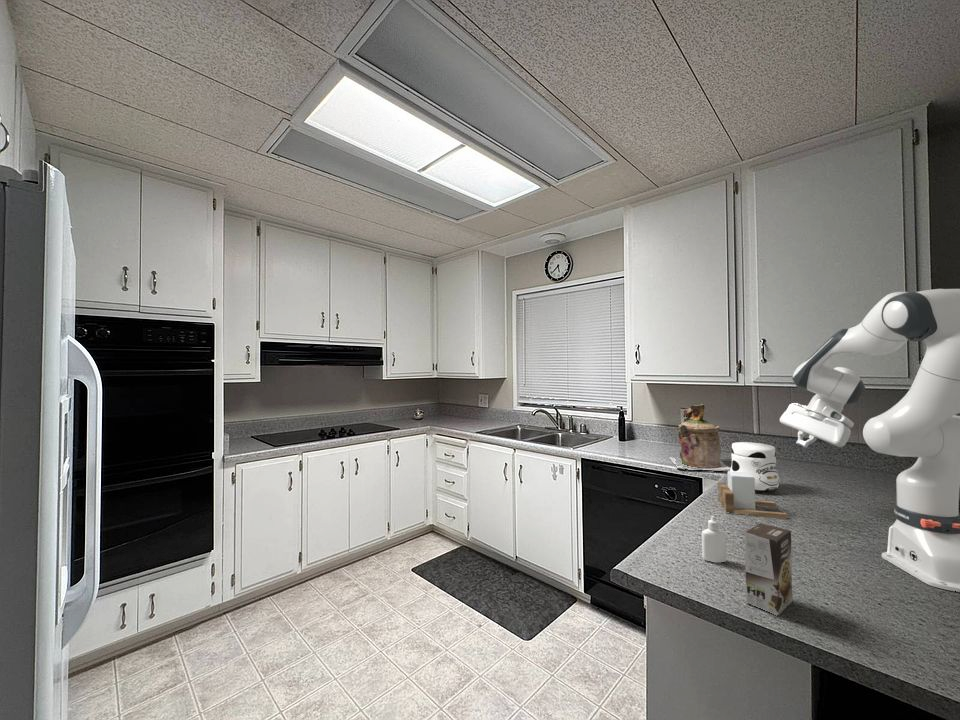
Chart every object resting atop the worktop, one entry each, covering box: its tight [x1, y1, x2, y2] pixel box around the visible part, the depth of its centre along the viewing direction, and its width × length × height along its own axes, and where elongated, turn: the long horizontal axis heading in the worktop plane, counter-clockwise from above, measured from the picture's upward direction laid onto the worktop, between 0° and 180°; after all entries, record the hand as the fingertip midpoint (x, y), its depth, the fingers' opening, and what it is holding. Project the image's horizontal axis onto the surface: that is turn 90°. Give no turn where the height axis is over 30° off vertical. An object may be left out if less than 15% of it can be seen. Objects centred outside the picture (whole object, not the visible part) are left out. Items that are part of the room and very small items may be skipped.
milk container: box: [730, 441, 780, 493], centre depth 172 cm, size 17×17×18 cm
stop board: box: [717, 482, 734, 514], centre depth 151 cm, size 13×2×7 cm, turn 160°
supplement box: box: [726, 471, 756, 510], centre depth 149 cm, size 7×7×13 cm
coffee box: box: [744, 522, 793, 617], centre depth 92 cm, size 9×6×16 cm
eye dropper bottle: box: [701, 515, 727, 563], centre depth 112 cm, size 4×6×12 cm
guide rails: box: [727, 499, 789, 520], centre depth 148 cm, size 13×18×2 cm
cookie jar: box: [669, 403, 731, 471], centre depth 209 cm, size 25×25×32 cm
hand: (801, 445), depth 144 cm, fingers closed
